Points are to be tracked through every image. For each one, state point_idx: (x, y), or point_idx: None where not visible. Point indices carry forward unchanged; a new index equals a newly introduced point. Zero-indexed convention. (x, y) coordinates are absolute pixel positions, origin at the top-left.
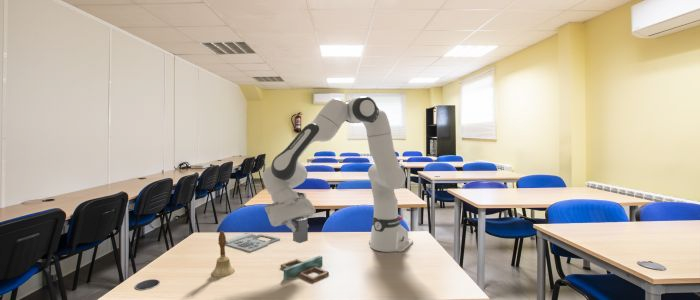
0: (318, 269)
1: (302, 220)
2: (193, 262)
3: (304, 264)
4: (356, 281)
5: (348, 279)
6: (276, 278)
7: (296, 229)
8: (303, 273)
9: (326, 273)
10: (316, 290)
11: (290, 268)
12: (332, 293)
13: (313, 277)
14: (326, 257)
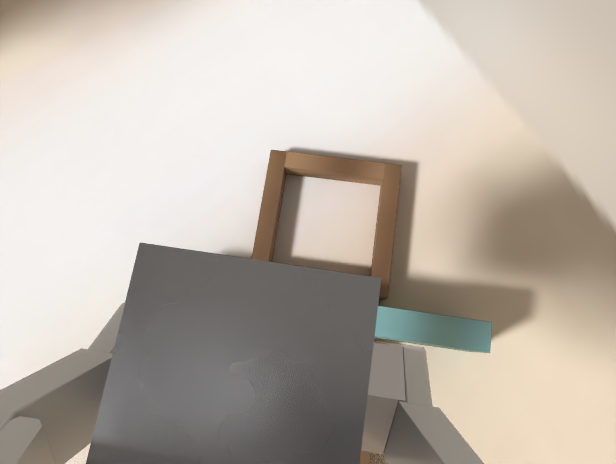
0: (275, 222)
1: (286, 264)
2: None
3: None
4: (256, 6)
5: (259, 47)
6: (495, 395)
7: (388, 344)
8: (375, 261)
9: (289, 153)
10: (453, 101)
11: (449, 318)
12: (427, 25)
13: (382, 174)
14: (45, 340)
